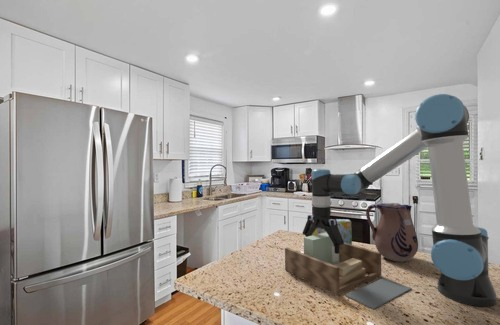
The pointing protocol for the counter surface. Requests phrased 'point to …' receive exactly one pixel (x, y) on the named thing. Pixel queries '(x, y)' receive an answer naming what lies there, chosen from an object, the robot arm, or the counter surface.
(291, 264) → the rack
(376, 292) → the mat
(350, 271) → the offcut stack
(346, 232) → the snack box
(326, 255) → the pale green block
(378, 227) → the ceramic pitcher
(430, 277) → the counter surface
